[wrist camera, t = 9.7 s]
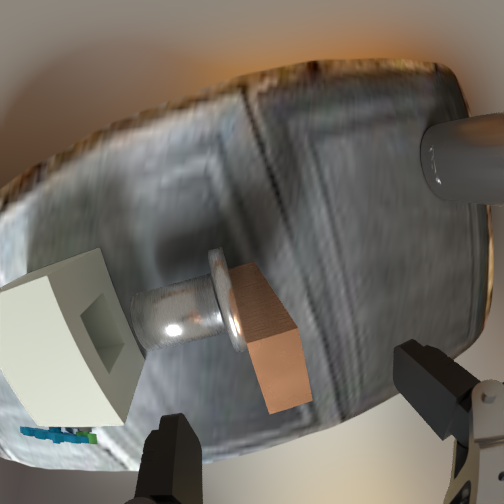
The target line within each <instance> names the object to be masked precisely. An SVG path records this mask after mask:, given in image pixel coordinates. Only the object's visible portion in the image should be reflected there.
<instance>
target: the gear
mask: <svg viewBox="0 0 504 504" xmlns="http://www.w3.org/2000/svg"><path fill="white" fill-rule="evenodd" d="M67 428H75V429H79V431H82V432H76V434H73V433H67V432H64V433H63V432H61V427H49V430H44V429H38V428H30V427H21V426H20V431H21V433H23V435H27V436H35V438H38V439H44V440H46V439H50V440H53V443H58V444H60V442H64V441H65V442H71V443H89V444H97V437H96V434H90V433H89V432H92V430H91V427H67Z"/></svg>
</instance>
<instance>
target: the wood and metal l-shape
mask: <svg viewBox="0 0 504 504" xmlns="http://www.w3.org/2000/svg"><path fill="white" fill-rule="evenodd" d="M208 259H209V264H210V269H211V274H212V275H211V274H207V275H204V276H200V277H197V278H193V279H189V280H186V281H182V282H178V283H175V284H171V285H168V286H164V287H160V288H157V289H153V290H149V291H146V292H142V293H138V294H134V295H133V296H132V298H131V301H130V315H131V321H132V325H133V328H134V331H135V334H136V336H137V338H138V340H139V342H140V344H141V345H142V346H143V348H144V349H146V350H147V351H153V350H157V349H162V348H166V347H171V346H175V345H179V344H184V343H188V342H192V341H196V340H200V339H204V338H208V337H212V336H216V335H219V334H223V333H227V330H228V333H229V336H230V338H231V341H232V344H233V346H234V348H235V350H236V352H237V353H238V352H242V351H246V350H249V353H250V356H251V359H252V363H253V366H254V369H255V372H256V375H257V378H258V381H259V384H260V387H261V390H262V393H263V396H264V399H265V402H266V405H267V408H268V411H269V414H272V413H276V412H279V411H282V410H286V409H289V408H292V407H295V406H298V405H301V404H304V403H307V402H310V401H313V400H312V395H311V390H310V384H309V379H308V374H307V369H306V364H305V359H304V354H303V349H302V344H301V339H300V334H299V330H298V327H297V325H296V324H295V322H294V321H293V319H292V318H291V316H290V315H289V313H288V312H287V310H286V309H285V307H284V306H283V304H282V303H281V301H280V300H279V298H278V297H277V295H276V294H275V292H274V291H273V289H272V288H271V286H270V285H269V283H268V282H267V280H266V279H265V277H264V276H263V274H262V273H261V271H260V270H259V268H258V267H257V265H256V264H255V262H251V263H247V264H244V265H240V266H237V267H233V268H229V269H228V266H227V263H226V260H225V256H224V253H223V249H222V247H221V248H217V249H213V250H210V251H208Z"/></svg>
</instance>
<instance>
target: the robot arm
mask: <svg viewBox="0 0 504 504" xmlns="http://www.w3.org/2000/svg"><path fill="white" fill-rule="evenodd" d="M421 163H422V168H423V172H424V176H425V178H426V180H427V183H428V184H429V186H430V188H431V189H432V191H433V192H434V193H435V194H436V195H437V196H438V197H440V198H442V199H444V200H450V201H460V202H469V203H478V204H486V205H495V206H502V207H504V112H498V113H492V114H486V115H480V116H475V117H469V118H464V119H459V120H454V121H449V122H445V123H440V124H436V125H433V126H431V127H430V128H429V129H428V130H427V131H426V133H425V134H424V137H423V139H422V144H421ZM393 381H394V384H395V386H396V388H397V390H398V391H399V392H400V393H401V394H402V395H403V396H404V398H405V399H406V400H407V401H408V402H409V403H410V404H411V405H412V407H413V408H414V409H415V410H416V411H417V412H418V413H419V415H420V416H421V417H422V418H423V419H424V420H425V421H426V423H427V424H428V425H429V426H430V427H431V428H432V429H433V430H434V432H435V433H436V434H437V435H438V436H439V437H440V438H441V439H442V440H444V439H446V438H447V437H448V436H450V435H453V436H454V437H455V440H454V448H453V460H452V470H451V478H450V484H449V487H448V490H447V493H446V495H445V498H444V502H443V504H504V382H503V383H501V382H499V381H497V380H484V381H482V382H481V381H480V380H478V379H477V378H476V377H474V376H473V375H472V374H470V373H469V372H468V371H467V370H465V369H464V368H463V367H462V366H460V365H459V364H458V363H456V362H454V360H452V359H451V358H450V357H447V355H446V354H445V353H443V352H442V351H441V350H439V349H437V348H434V347H431V346H428V345H426V346H424V347H423V346H422V345H421V344H419V343H418V342H417V341H416V340H414V339H411V340H409V341H407V342H405V343H403V344H401V345H398V346H396V347H395V348H394V362H393ZM141 462H142V463H140V469H139V474H138V480H137V485H136V491H135V496H134V498H133V499H131V500H128V501H127V502H126V503H124V504H203V493H202V449H201V445H200V441H199V439H198V437H197V436H196V434H195V432H194V431H193V429H192V427H191V426H190V424H189V422H188V421H187V419H186V417H185V416H184V414H182V413H178V414H171V415H164V416H162V417H161V419H160V424H159V430H152V431H151V433H150V434H149V436H148V437H147V439H146V440H145V443H144V448H143V454H142V458H141Z"/></svg>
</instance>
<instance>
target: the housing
mask: <svg viewBox="0 0 504 504" xmlns="http://www.w3.org/2000/svg"><path fill="white" fill-rule="evenodd" d="M144 362H145V359H144V357H143V355H142V353H141V351H140V349H139V347H138V345H137V342H136V340H135V338H134V336H133V334H132V331H131V329H130V327H129V325H128V322H127V320H126V317H125V315H124V313H123V310H122V308H121V305H120V303H119V300H118V298H117V295H116V292H115V290H114V287H113V284H112V282H111V279H110V276H109V273H108V270H107V267H106V264H105V261H104V258H103V255H102V252H101V249H100V247H99V248H96V249H94V250H91V251H88V252H85V253H82V254H79V255H76V256H73V257H71V258H68V259H65V260H62V261H60V262H57V263H54V264H51V265H49V266H46V267H43V268H41V269H38V270H35V271H33V272H30V273H28V274H25V275H23V276H21V277H20V278H18V279H16V280H14V281H12V282H10V283H8V284H6V285H4V286H3V287H1V288H0V369H1V371H2V373H3V375H4V376H5V378H6V380H7V381H8V383H9V385H10V386H11V388H12V390H13V391H14V393H15V394H16V396H17V397H18V399H19V400H20V402H21V403H22V405H23V406H24V408H25V409H26V410H27V412H28V413H29V415H30V416H31V417H32V419H33V420H34V421H35V423H36V424H37V425H38V426H49V427H99V426H117V425H125V422H126V419H127V415H128V412H129V409H130V405H131V402H132V399H133V396H134V393H135V389H136V386H137V383H138V380H139V377H140V374H141V371H142V368H143V365H144Z"/></svg>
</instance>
